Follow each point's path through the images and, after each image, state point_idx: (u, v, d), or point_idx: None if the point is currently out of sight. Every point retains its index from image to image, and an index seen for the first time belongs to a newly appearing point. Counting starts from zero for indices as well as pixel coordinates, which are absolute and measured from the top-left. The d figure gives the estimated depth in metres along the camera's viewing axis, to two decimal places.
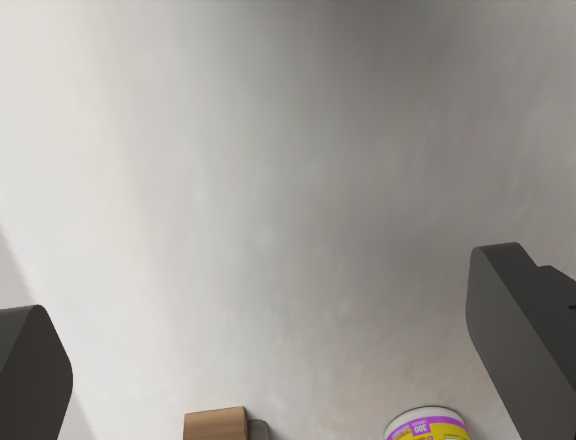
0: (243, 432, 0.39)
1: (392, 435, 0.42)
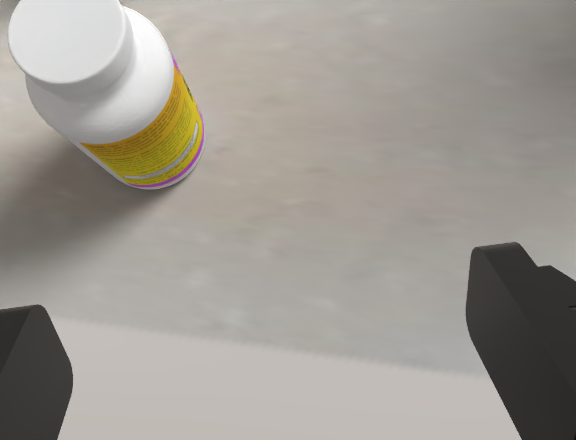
0: None
1: None
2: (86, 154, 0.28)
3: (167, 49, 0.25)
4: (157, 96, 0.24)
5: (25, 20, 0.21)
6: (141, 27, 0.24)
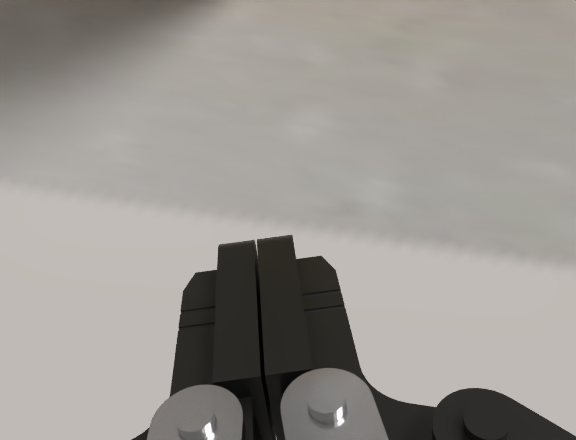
0: None
1: None
2: None
3: None
4: None
5: None
6: None
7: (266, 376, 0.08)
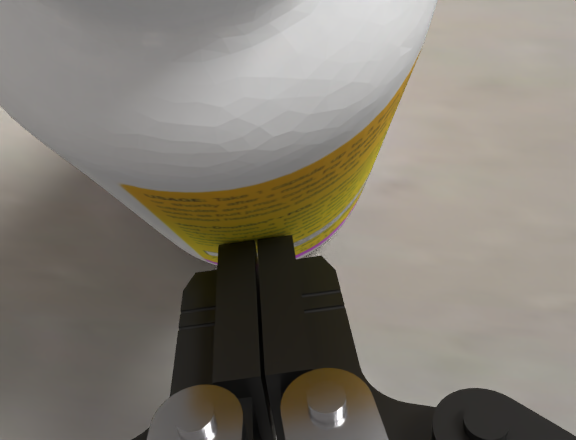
0: None
1: None
2: (124, 204, 0.10)
3: None
4: (417, 26, 0.06)
5: None
6: None
7: (266, 376, 0.08)
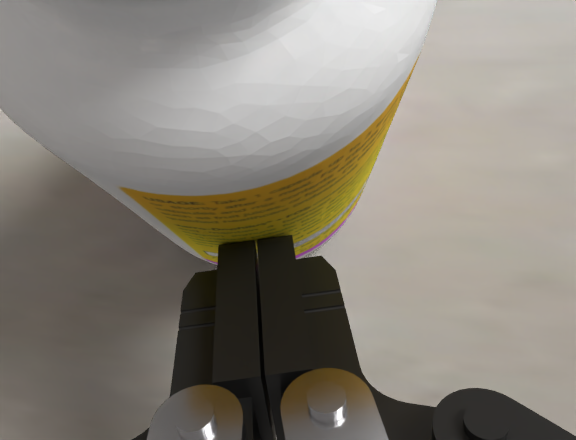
0: None
1: None
2: None
3: None
4: (415, 32, 0.06)
5: None
6: None
7: (266, 376, 0.08)
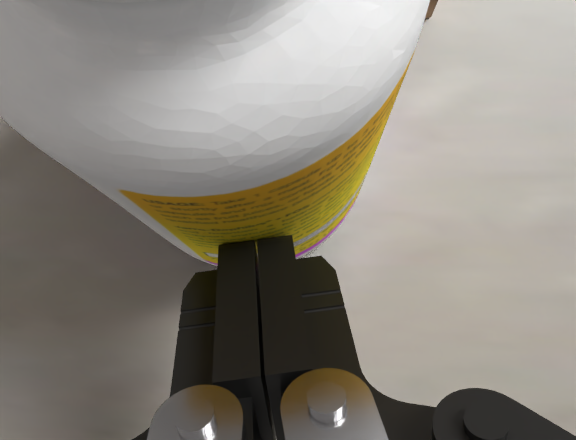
0: None
1: None
2: None
3: None
4: (409, 29, 0.07)
5: None
6: None
7: (266, 376, 0.08)
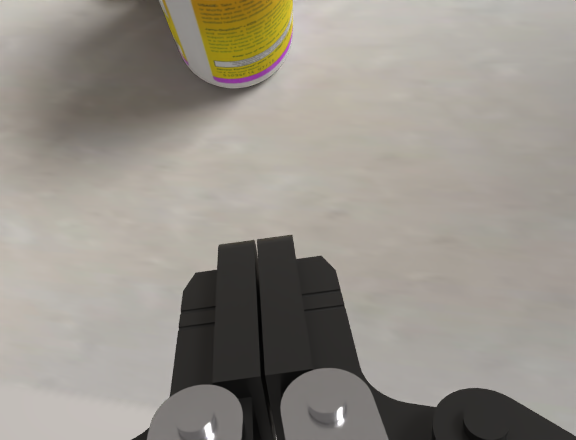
0: None
1: None
2: (182, 30, 0.26)
3: None
4: None
5: None
6: None
7: (266, 376, 0.08)
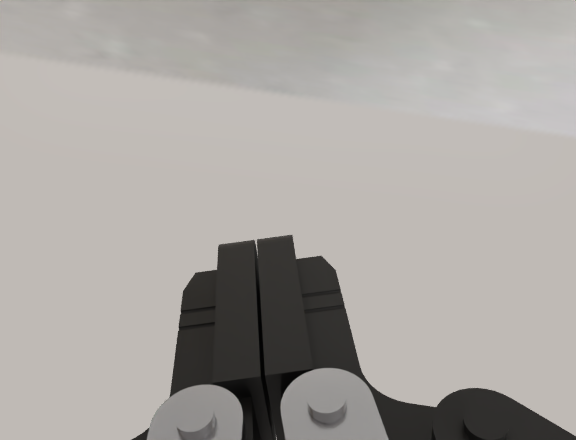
0: None
1: None
2: None
3: None
4: None
5: None
6: None
7: (266, 376, 0.08)
